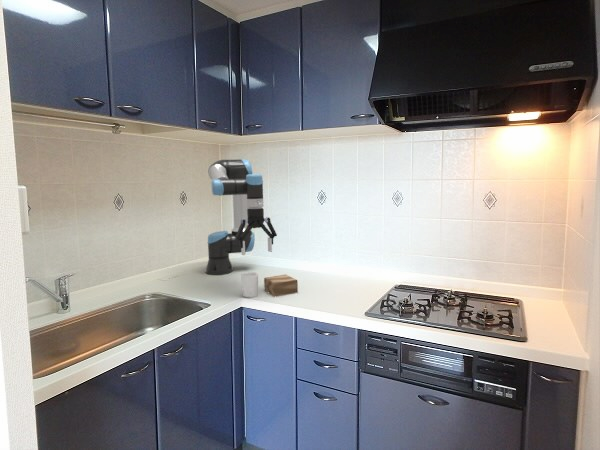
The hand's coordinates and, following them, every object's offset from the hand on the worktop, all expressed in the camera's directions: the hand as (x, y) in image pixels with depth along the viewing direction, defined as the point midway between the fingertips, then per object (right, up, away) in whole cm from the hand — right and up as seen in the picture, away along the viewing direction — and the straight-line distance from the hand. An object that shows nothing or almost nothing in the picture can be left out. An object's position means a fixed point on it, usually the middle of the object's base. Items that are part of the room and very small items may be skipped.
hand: (256, 253), depth 181 cm
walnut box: (+11, -19, +6) cm, 23 cm away
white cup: (-3, -20, +1) cm, 20 cm away
